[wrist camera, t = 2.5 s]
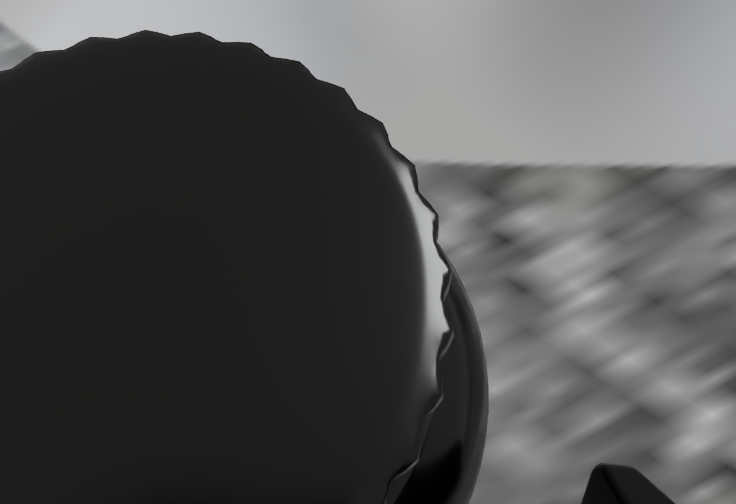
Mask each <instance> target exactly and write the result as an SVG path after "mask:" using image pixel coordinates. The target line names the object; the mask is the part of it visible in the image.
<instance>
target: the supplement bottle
mask: <svg viewBox="0 0 736 504" xmlns="http://www.w3.org/2000/svg"><path fill="white" fill-rule="evenodd" d="M438 230H439V217H438V214H437V213H436V212H435V210H434V209H433V208H432V206H431V205H430V204H429V202H428V201H427V200H426V199H425V198H424V197H423V196H422V195H421V194H420V193H419V191H418V179H417V174H416V169H415V165H414V164H413V163H411V162H410V161H409V160H408V159H407V158H406V157H405V156H404V155H402V154H401V153H399V152H398V151H397V150H395V149H394V148H393V147H392V146H391V144H390V142H389V138H388V134H387V131H386V129H385V127H384V125H383V123H382V122H380V121H379V120H377V119H375V118H374V117H372V116H370V115H368V114H366V113H364V112H362V111H360V110H358V109H357V108H356V106H355V104H354V102H353V101H352V99H351V98H350V96H349V95H348V93H347V92H346V91H345V89H344V88H342V87H339V86H336V85H334V84H331V83H328V82H324V81H321V80H318V79H316V78H315V77H314V76H313V75H312V74H311V73H310V71H309V70H308V69H307V68H306V67H305V66H304V65H303V64H301V62H299V61H294V60H289V59H282V58H275V57H270V56H269V55H268V54H266V53H265V52H264V51H263V50H262V49H260V48H259V47H257V46H255V45H254V44H252V43H245V42H220V41H218V40H215V39H214V38H212V37H211V36H208V35H206V34H203V33H201V32H194V33H185V34H180V35H174V36H169V35H165V34H162V33H158V32H153V31H148V30H144V31H140V32H136V33H133V34H130V35H128V36H126V37H122V38H119V39H114V38H104V37H89V38H87V39H85V40H83V41H81V42H78V43H77V44H75V45H74V46H72V47H69V48H67V49H65V50H54V51H44V52H36V53H34V54H32V55H31V56H29V57H28V58H26V59H24V60H23V61H22V62H21V63H20V64H18V65H16V66H15V67H13V68H12V69H9V70H4V71H0V504H469V502H470V499H471V497H472V494H473V491H474V488H475V484H476V481H477V477H478V474H479V471H480V467H481V462H482V457H483V452H484V447H485V442H486V434H487V423H488V413H489V401H488V376H487V366H486V358H485V353H484V348H483V343H482V338H481V333H480V330H479V326H478V323H477V320H476V316H475V313H474V310H473V307H472V305H471V302H470V300H469V297H468V295H467V292H466V290H465V288H464V286H463V284H462V282H461V280H460V278H459V276H458V274H457V272H456V270H455V268H454V267H453V265H452V263H451V262H450V260H449V259H448V257H447V256H446V254H445V253H444V251H443V250H442V248H441V247H440V245H439V244H438V243H437V239H438Z"/></svg>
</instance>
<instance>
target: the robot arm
mask: <svg viewBox="0 0 736 504" xmlns="http://www.w3.org/2000/svg"><path fill="white" fill-rule="evenodd" d="M581 504H675V503H674V502H673V501H672V500H671V499H670V498H668V497H667V496H666V495H665V494H664V493H663V492H662V491H661V490H659V489H658V488H657V487H656V486H655V485H654V484H653V483H651V482H650V481H649V480H648V479H647V478H646V477H645V476H644V475H642V474H641V473H640V472H639V471H638V470H636V469H635V468H633V467H631V466H626V465H617V464H608V463H600V464H598V465H596V466H595V467H594V468H593V470H592V472H591V475H590V478H589V481H588V484H587V487H586V490H585V494H584V497H583V500H582V503H581Z"/></svg>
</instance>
